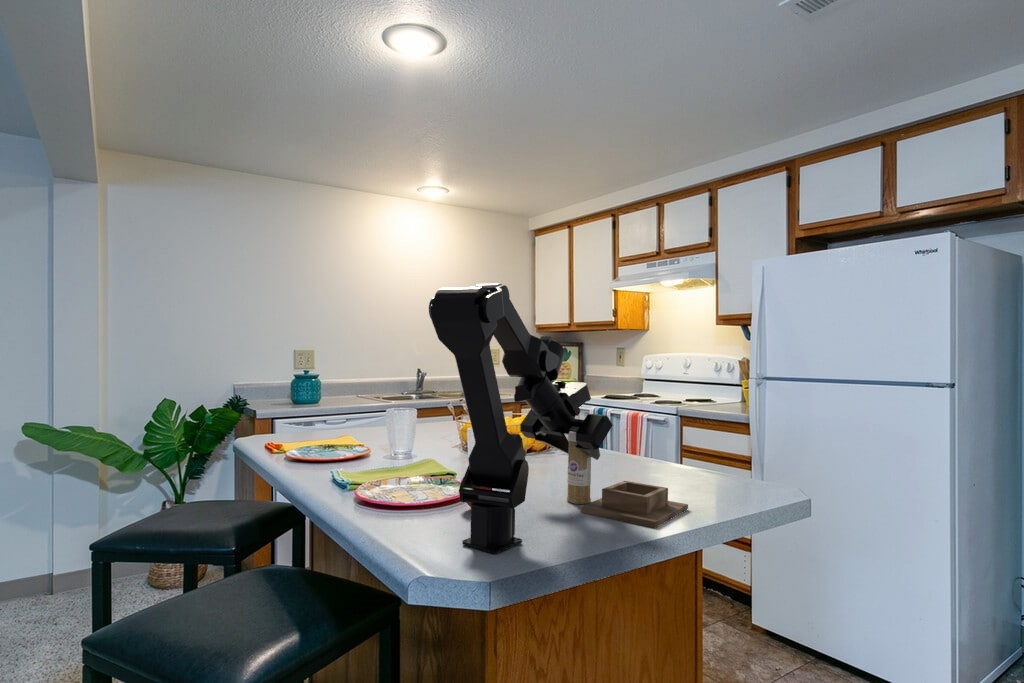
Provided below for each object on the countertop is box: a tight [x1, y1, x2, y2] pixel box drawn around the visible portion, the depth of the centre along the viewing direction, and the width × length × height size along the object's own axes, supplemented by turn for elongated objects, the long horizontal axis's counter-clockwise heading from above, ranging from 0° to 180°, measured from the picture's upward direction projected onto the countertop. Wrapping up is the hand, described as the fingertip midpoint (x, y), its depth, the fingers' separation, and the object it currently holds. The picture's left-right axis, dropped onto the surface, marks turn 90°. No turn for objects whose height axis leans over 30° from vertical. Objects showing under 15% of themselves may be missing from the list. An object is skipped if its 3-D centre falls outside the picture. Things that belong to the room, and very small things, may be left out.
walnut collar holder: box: [580, 480, 689, 529], centre depth 105 cm, size 14×14×4 cm
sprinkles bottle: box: [566, 431, 592, 505], centre depth 110 cm, size 5×5×13 cm
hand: (584, 455), depth 112 cm, fingers open, 6 cm apart
